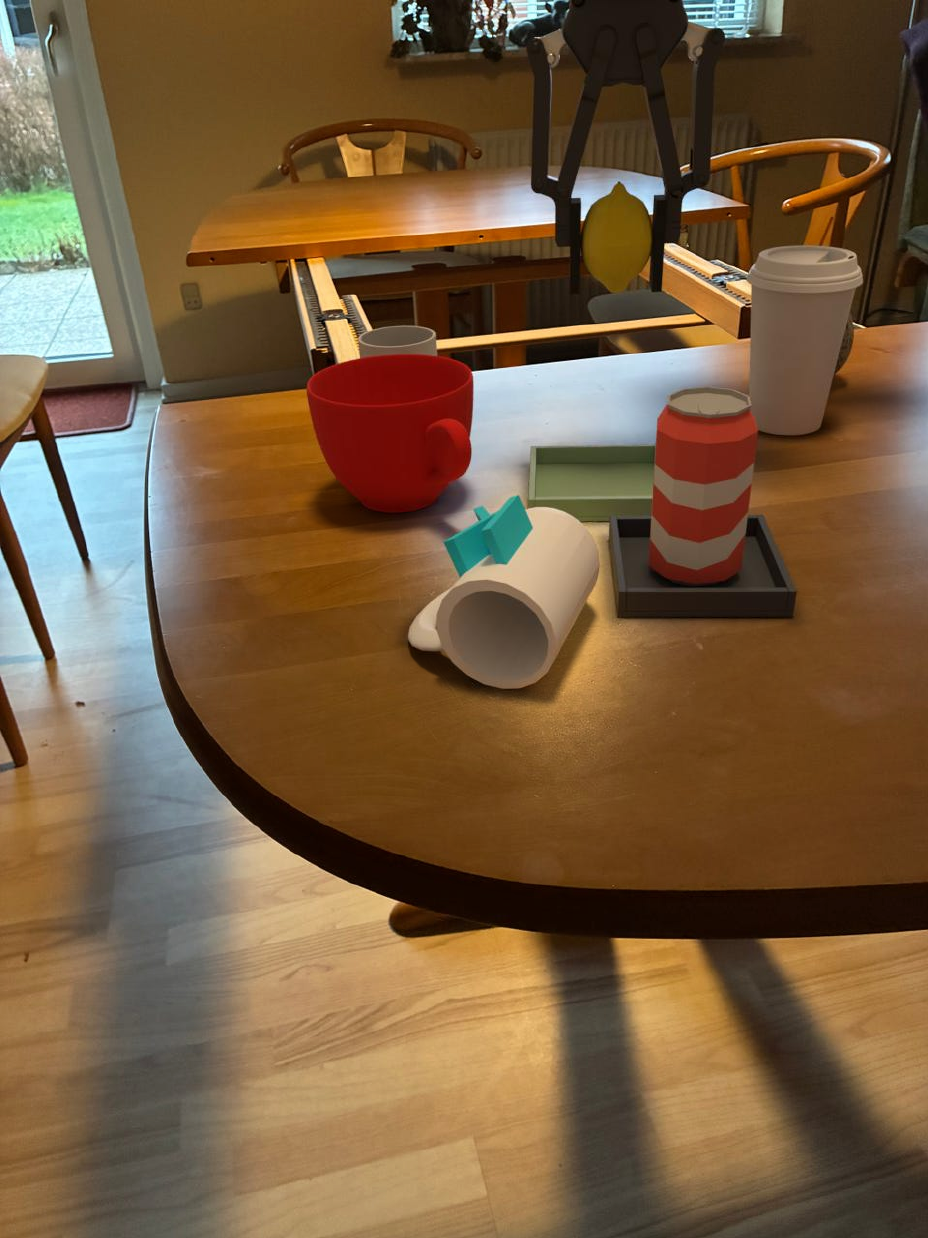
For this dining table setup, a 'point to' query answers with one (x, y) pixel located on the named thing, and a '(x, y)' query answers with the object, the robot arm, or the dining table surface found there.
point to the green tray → (593, 480)
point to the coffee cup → (797, 332)
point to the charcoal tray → (742, 595)
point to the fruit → (616, 238)
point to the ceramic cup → (394, 426)
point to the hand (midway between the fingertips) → (614, 288)
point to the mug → (511, 594)
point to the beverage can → (702, 485)
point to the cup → (397, 341)
